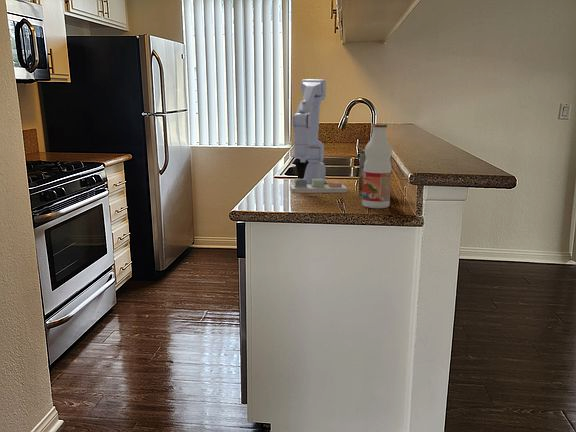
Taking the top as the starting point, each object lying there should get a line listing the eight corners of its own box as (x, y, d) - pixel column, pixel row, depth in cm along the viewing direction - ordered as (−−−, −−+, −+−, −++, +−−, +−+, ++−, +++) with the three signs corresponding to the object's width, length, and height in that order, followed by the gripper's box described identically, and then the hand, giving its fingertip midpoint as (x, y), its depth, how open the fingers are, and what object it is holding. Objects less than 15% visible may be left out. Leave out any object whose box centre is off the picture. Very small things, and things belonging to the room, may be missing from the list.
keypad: (342, 188, 213) (342, 184, 213) (347, 192, 204) (347, 188, 203) (289, 188, 212) (289, 184, 211) (291, 192, 202) (291, 188, 202)
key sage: (322, 184, 210) (322, 178, 209) (324, 186, 205) (324, 180, 205) (311, 184, 209) (312, 178, 209) (313, 186, 205) (313, 180, 204)
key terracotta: (339, 187, 210) (339, 181, 210) (341, 189, 206) (341, 183, 206) (328, 187, 210) (329, 181, 210) (330, 189, 206) (330, 183, 205)
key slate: (305, 184, 209) (305, 178, 208) (306, 186, 205) (306, 180, 204) (294, 184, 209) (294, 178, 208) (295, 186, 204) (295, 180, 204)
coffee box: (385, 194, 200) (387, 153, 197) (380, 197, 195) (382, 154, 191) (363, 192, 205) (364, 151, 201) (357, 194, 199) (359, 153, 195)
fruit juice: (392, 208, 174) (397, 124, 168) (365, 209, 173) (369, 124, 167) (385, 203, 183) (389, 123, 177) (359, 203, 182) (362, 123, 176)
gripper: (289, 142, 210) (289, 175, 213) (292, 145, 196) (292, 181, 199) (306, 142, 210) (306, 175, 213) (311, 145, 196) (310, 181, 199)
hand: (300, 178), depth 206 cm, fingers closed
